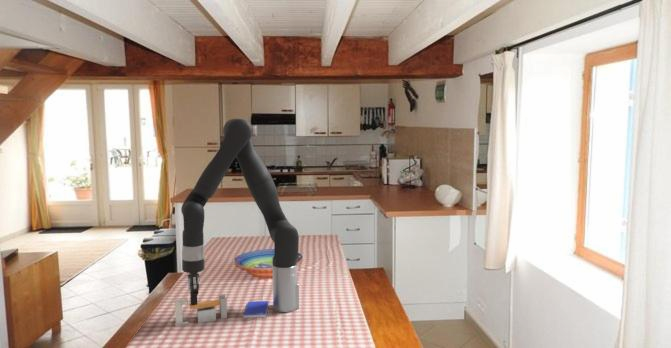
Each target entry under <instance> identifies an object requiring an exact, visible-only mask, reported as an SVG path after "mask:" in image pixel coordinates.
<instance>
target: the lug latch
mask: <svg viewBox="0 0 671 348" xmlns="http://www.w3.org/2000/svg"><path fill="white" fill-rule="evenodd" d="M184 305H189V300H188V297H185V298H184V297H182V298H178V299H177V298H176V299H174V313H175V315H174V316H175V317H174V319H175V318H176V321H175V323H180V322H184V321H183V318H182V316H183V306H184Z"/></svg>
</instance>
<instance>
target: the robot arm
mask: <svg viewBox="0 0 671 348" xmlns="http://www.w3.org/2000/svg"><path fill="white" fill-rule="evenodd" d="M222 134H223V137H224V138H223V141H222V143H221V144H220V146H219V149H218V150H217V152H216V154H215V155H214V156H213V158H212V159H211V160H210V162H208V164H207V166H206V167H204V169H203V171H202V173H201V174H200V176H199V178H198V179H197V181H196V183H195V185H194V188H193V189H192V190H191V191H190V192H189V194H188V196H187V197H186V198H185V199H184V201H183V203H182V206H181V207H180V208H181V209H180V210H181V213H182V219H183V230H182V237H181V238H182V248H181V270H182V271H183V272H184V273H187V285H188V290H189V295H190V304H191V305H197V303H198V296H199V289H200V281H201V277H200V273H201V272H203V271H205V266H206V265H205V244H204V226H205V225H204V223H205V209H204V207H205V206H206V204H207V203H208V201H209V199H211V198H212V197H214V195H215V194H216V191H217V190H218V188H219V186H220V184H221V182H222V181H223V179H224V177H225V176H226V173H228V170H229V168H230V167H231V165H232V163H233V162H234V160H235V159H236V160H237V162H238V164H239V168H240V170H241V173H242V175H243V179H244V181H245V182H246V185H247V187H248V190H249V192H250V194H251V196H252V198H253V199H254V200H253V201H254V202H255V204H256V205H257V208H258V209H259V210H260V212H261V215H262V216H263V218H264V221H265V224H266V228H267V230H268V233H269V237H270V239H271V241H272V242H273V245H274V248H273V249H274V254H273V256H272V262H271V263H272V264H271V265H272V300H273V301H272V304H273V310H274V311H275V312H278V313H279V312H280V313H290V312H294V311H296V310H298V309H300V286H299V283H298V257H299V250H300V249H299V245H300V243H299V232H298V229H297V228H295V227H296V226H294V225H292V224H291V223H290V222H289V220H288V218H287V217H286V215H285V213H284V212H283V209H282V206H281V203H280V200H279V195H278V194H279V193H278V190H277V187H276V184H275V182H274V179H273V177H272V175H271V173H270V171H269V169H268V168H267V166H266V165H265V163H264V161H263V160H262V159H261V157H260V156H259V155H258V153H257V152H256V150H255V147H254V145H253V142H252V139H251V138H252V136H253V127H252V126H251V123H250V122H248V121H247V120H245V119H242V118H232V119H228V121H226V122H225V124H224V125H223V128H222Z"/></svg>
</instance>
